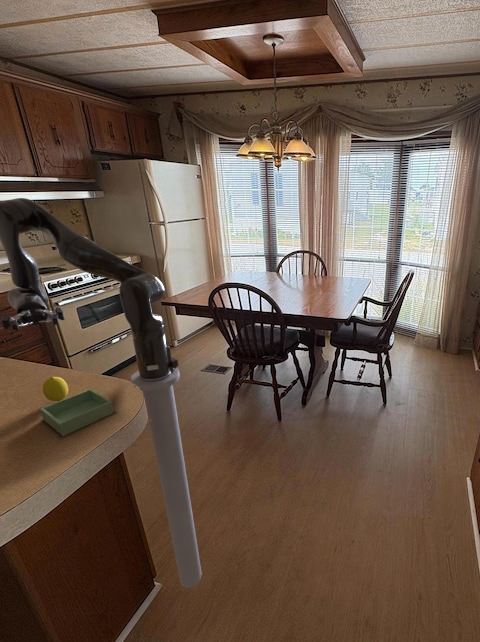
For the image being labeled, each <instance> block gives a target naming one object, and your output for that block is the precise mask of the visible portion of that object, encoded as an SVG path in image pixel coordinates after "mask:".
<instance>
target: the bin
mask: <svg viewBox="0 0 480 642" xmlns="http://www.w3.org/2000/svg"><path fill="white" fill-rule="evenodd" d="M39 411H40V413H41V416H42V420H43V421H44V422H45V423H47V424H48V425H49V426H50V427H52V428H53V429H54V430H55V431H56V432H57V433H58V434H60V435H61V436H62V437H64V436H68V435H69V434H71V433H73V432H76V431H78V430H80V429H82V428H84V427H86V426H89V425H91V424H93V423H95V422H98V421H100V420H102V419H103V418H106V417H108V416H110V415H112V414H114V413H115V411H114V406H113V403H112V401H111V400H110V399H108V398H106V397H105V396H103V395H102V394H100V393H99V392H96V391H95V390H93V389H92V388H89V389H87V390H84V391H82V392H79V393H76V394H74V395H71V396H69V397H65V398H64V399H62V400H61V401H55V402H53V403H50V404H48V405H45V406H43V407H40V408H39Z"/></svg>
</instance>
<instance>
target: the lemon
mask: <svg viewBox="0 0 480 642" xmlns="http://www.w3.org/2000/svg"><path fill="white" fill-rule="evenodd" d="M42 393H43V395H44V396H45V398H46V399H47V400H49V401H51V402H58V401H61V400H63V399H66V398H67V396H68V394H69V386H68V383H67V382H66V380H64V378H62V377H60V376H50V377H49V378H47V379H46V380H45V381H44V382H43V384H42Z"/></svg>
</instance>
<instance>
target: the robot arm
mask: <svg viewBox="0 0 480 642" xmlns="http://www.w3.org/2000/svg"><path fill="white" fill-rule="evenodd" d="M32 231H39V232H42V233H43V234H45V235H46V236H48V237H50V238H51V239H52V241H53V244H54V246H55V249H56V252H57V253H58V255H59V257H61V259H63V261H65V262H66V263H68V264H70V265H72V266H73V267H75V268H77V269H78V270H80V271H82V272H85V273H87V274H90V275H93V276H97V277H101V278H105V279H108V280H112V281H115V282H118V283H119V291H118V292H119V298H120V302H121V306H122V309H123V310H122V311H123V313H124V317H125V320H126V321H127V323H128V324H129V327H130V332H131V337H132V343H133V348H134V352H135V358H136V363H137V368H138V371H139V376H140V379H141V380H143V381H158V380H162V379H164V378H166V377H168V376H169V375H170V374H171V373H172V372H173V368H175V369H176V367H177V368H178V367H179V360H178V359H177V358H174V357H172V354H171V346H170V345H167V339H166V333H165V327H164V320H163V317H162V315H159V314H157V313H153V311H152V306H151V305H153V304H155V303H157V302H159V301H160V300H162V299H163V297H164V296H165V287H164V285H163V283H162V281H161V279H159V278H158V277H157V276H155V275H153V273H150V272H148V271H146V270H144V269H142V268H140V267H138V266H135V265H134V264H131V263H129V262H127V261H126V260H124V259H122V258H121V257H119V256H117V255H116V254H114V253H113V252H111V251H109V250H108V249H106V248H104V247H103V246H101V245H100V244H98V243H97V242H95V241H93V240H92V239H90V238H88V237H87V236H85V235H83V234H81V233H79V232H78V231H77V230H75V229H73V228H72V227H70V226H68V225H67V224H66V223H64V222H62V221H61V220H60V219H58V218H56V217H55V216H54V215H53V214H51V212H49V211H48V210H46V209H45V208H43V207H42V206H41V205H39V204H38V203H37V202H35V201H33V200H31V199H29V198H25V197H17V198H11V199H6V200H1V201H0V243H1V245H2V248H3V250H4V253H5V255H6V258H7V262H8V264H9V265H8V267H9V271H10V278H11V281H12V284H13V285H14V286H15V288H11V289H10V290H9V291H8V292H7V300H8V303H9V305H10V306H11V307H12V308H13V309H15V313H16V314H15V315H14V316H10V315H8V314H3V315H1V319H0V322H1V324H2V328H3V330H8V329H10V328H11V331H15V332H20V329H19V328H20V327H26V326H38V325H42V324H43V323H47V324H49V323H52V324H53V326H57V324H59V323H60V321H65V320H66V317H65V313H64V311H63V309H62V308H61V307H55V308H54V309H53V310H50V309H48V307H47V305H48V303H49V296H48V294H47V292H46V289H44V287H43V285H42V283H41V280H40V273H39V266H38V263H37V261H36V259H35V257H33V256H32V254H30V252H28V251H27V250H26V249H24V247H23V246H22V245H21V243H20V235H21V234H25V233H29V232H32ZM59 320H60V321H59Z"/></svg>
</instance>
